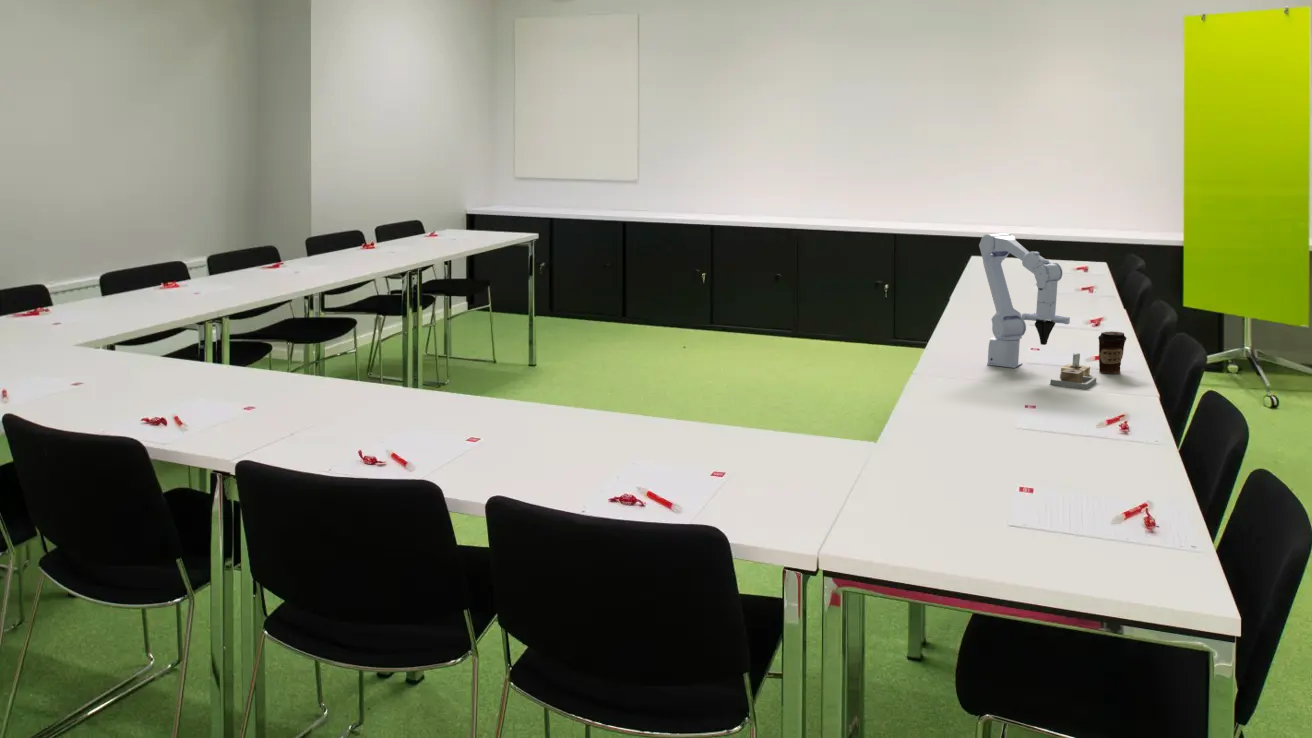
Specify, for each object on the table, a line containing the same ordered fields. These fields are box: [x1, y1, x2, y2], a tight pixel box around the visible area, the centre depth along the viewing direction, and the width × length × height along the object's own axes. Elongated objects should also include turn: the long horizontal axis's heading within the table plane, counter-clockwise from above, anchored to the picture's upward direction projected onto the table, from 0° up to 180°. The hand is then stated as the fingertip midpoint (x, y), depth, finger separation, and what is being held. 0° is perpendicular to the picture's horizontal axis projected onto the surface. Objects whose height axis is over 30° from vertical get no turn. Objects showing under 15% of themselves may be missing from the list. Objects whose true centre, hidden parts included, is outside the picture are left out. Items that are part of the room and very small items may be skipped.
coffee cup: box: [1097, 331, 1127, 375], centre depth 350 cm, size 9×8×13 cm
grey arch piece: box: [1049, 373, 1098, 390], centre depth 337 cm, size 11×11×2 cm
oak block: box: [1060, 363, 1091, 377], centre depth 348 cm, size 7×7×3 cm
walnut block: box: [1060, 369, 1083, 383], centre depth 337 cm, size 5×5×4 cm
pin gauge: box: [1072, 352, 1081, 369], centre depth 347 cm, size 2×2×7 cm
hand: (1043, 344), depth 347 cm, fingers closed
